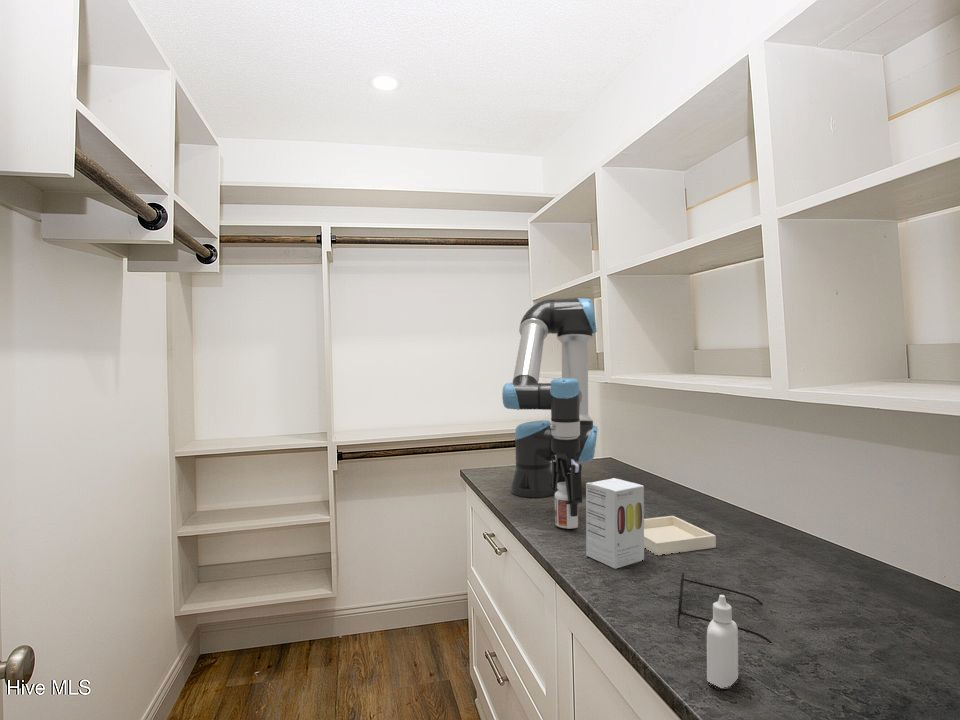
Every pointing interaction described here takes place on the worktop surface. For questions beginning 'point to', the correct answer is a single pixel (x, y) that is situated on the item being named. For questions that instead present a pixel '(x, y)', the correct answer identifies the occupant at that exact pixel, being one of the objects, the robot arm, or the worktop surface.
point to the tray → (675, 536)
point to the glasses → (709, 619)
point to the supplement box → (615, 522)
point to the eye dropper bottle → (722, 646)
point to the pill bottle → (561, 505)
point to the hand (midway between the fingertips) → (566, 523)
